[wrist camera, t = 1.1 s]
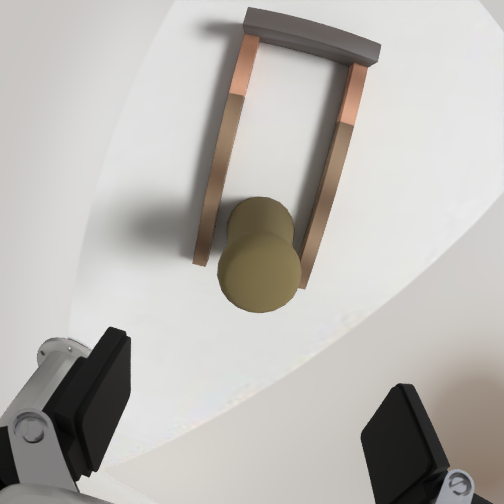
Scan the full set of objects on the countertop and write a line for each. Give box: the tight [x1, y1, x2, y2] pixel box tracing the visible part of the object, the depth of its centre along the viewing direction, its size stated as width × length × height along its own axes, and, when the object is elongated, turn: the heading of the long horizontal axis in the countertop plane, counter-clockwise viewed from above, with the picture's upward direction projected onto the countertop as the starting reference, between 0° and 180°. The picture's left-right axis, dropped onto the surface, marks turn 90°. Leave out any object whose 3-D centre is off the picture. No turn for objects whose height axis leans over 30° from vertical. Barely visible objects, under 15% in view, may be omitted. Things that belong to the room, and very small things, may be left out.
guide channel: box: [192, 7, 381, 289], centre depth 24 cm, size 22×10×4 cm, turn 167°
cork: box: [217, 197, 302, 313], centre depth 24 cm, size 6×6×11 cm
